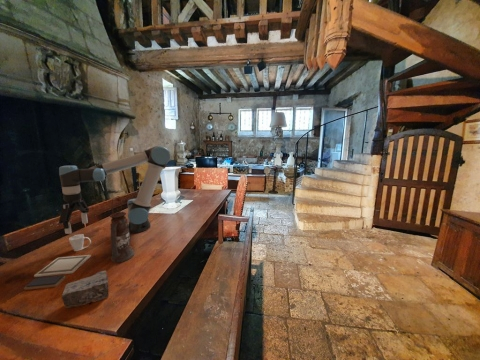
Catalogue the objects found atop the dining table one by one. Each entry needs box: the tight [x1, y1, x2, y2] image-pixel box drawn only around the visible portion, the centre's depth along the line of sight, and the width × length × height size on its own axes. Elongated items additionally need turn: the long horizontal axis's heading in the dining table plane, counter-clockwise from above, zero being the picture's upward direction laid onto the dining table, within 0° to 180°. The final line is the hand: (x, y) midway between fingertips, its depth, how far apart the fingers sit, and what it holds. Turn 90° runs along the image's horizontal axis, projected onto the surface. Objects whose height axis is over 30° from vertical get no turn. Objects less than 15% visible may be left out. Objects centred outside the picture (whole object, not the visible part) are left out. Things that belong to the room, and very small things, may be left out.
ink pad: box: [23, 274, 67, 291], centre depth 81 cm, size 12×6×2 cm, turn 100°
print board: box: [33, 254, 92, 278], centre depth 93 cm, size 16×14×1 cm
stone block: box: [61, 270, 110, 309], centre depth 74 cm, size 14×9×8 cm, turn 122°
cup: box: [68, 233, 92, 252], centre depth 107 cm, size 7×10×8 cm
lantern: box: [109, 195, 135, 263], centre depth 98 cm, size 11×16×35 cm
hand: (77, 227), depth 105 cm, fingers open, 13 cm apart
